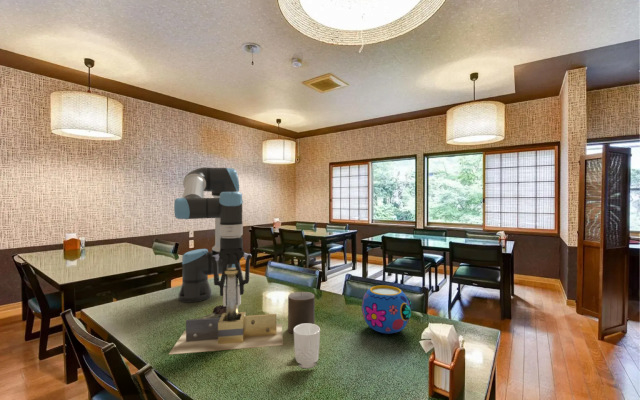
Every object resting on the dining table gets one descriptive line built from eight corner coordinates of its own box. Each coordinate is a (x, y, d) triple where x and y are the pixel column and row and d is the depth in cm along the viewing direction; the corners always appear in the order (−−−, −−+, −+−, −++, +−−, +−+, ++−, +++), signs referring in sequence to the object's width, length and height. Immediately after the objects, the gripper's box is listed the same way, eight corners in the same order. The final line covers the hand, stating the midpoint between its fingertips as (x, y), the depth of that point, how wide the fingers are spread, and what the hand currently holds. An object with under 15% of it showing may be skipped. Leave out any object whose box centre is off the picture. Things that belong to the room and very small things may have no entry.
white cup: (293, 355, 90) (293, 323, 90) (319, 354, 91) (318, 322, 91) (293, 370, 83) (293, 335, 83) (321, 369, 83) (321, 334, 83)
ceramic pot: (411, 345, 96) (411, 300, 96) (358, 338, 102) (357, 295, 101) (411, 323, 113) (410, 284, 113) (365, 318, 118) (365, 281, 118)
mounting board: (184, 334, 105) (184, 330, 105) (281, 327, 111) (281, 323, 111) (168, 358, 90) (168, 354, 90) (282, 348, 95) (282, 344, 95)
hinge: (190, 335, 102) (189, 315, 102) (276, 329, 106) (276, 309, 106) (182, 347, 94) (182, 325, 94) (276, 339, 98) (276, 318, 98)
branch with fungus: (198, 334, 106) (198, 319, 106) (188, 330, 110) (188, 315, 110) (237, 317, 120) (237, 303, 120) (227, 313, 124) (227, 300, 124)
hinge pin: (225, 319, 102) (225, 267, 102) (241, 318, 103) (240, 267, 103) (222, 326, 97) (222, 271, 97) (239, 325, 98) (238, 270, 98)
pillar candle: (304, 342, 99) (304, 298, 99) (282, 335, 104) (282, 293, 104) (319, 331, 107) (319, 290, 107) (298, 325, 112) (298, 286, 112)
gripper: (202, 238, 95) (203, 310, 95) (256, 237, 97) (256, 306, 98) (208, 235, 102) (208, 302, 102) (257, 234, 105) (258, 299, 105)
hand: (232, 304), depth 100 cm, fingers closed on hinge pin, 4 cm apart
